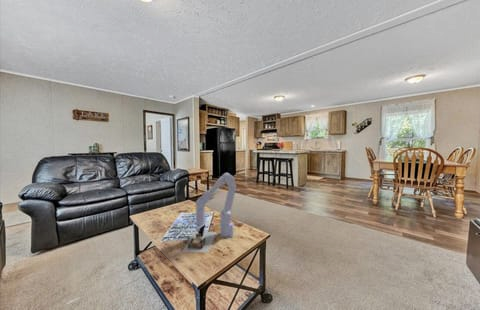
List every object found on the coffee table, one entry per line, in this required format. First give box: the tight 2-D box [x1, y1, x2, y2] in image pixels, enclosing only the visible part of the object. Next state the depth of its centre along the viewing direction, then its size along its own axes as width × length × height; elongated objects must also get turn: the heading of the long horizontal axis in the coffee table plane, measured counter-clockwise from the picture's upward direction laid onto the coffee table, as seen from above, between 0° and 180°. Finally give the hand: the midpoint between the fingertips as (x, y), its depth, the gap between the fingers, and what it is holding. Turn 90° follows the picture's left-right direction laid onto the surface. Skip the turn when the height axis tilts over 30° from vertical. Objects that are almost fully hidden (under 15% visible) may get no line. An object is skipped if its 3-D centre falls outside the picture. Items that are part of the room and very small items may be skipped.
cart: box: [193, 234, 203, 244], centre depth 109 cm, size 6×5×6 cm
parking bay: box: [188, 238, 205, 249], centre depth 109 cm, size 9×7×2 cm
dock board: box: [181, 231, 217, 253], centre depth 114 cm, size 16×24×1 cm, turn 176°
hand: (201, 236), depth 117 cm, fingers closed
